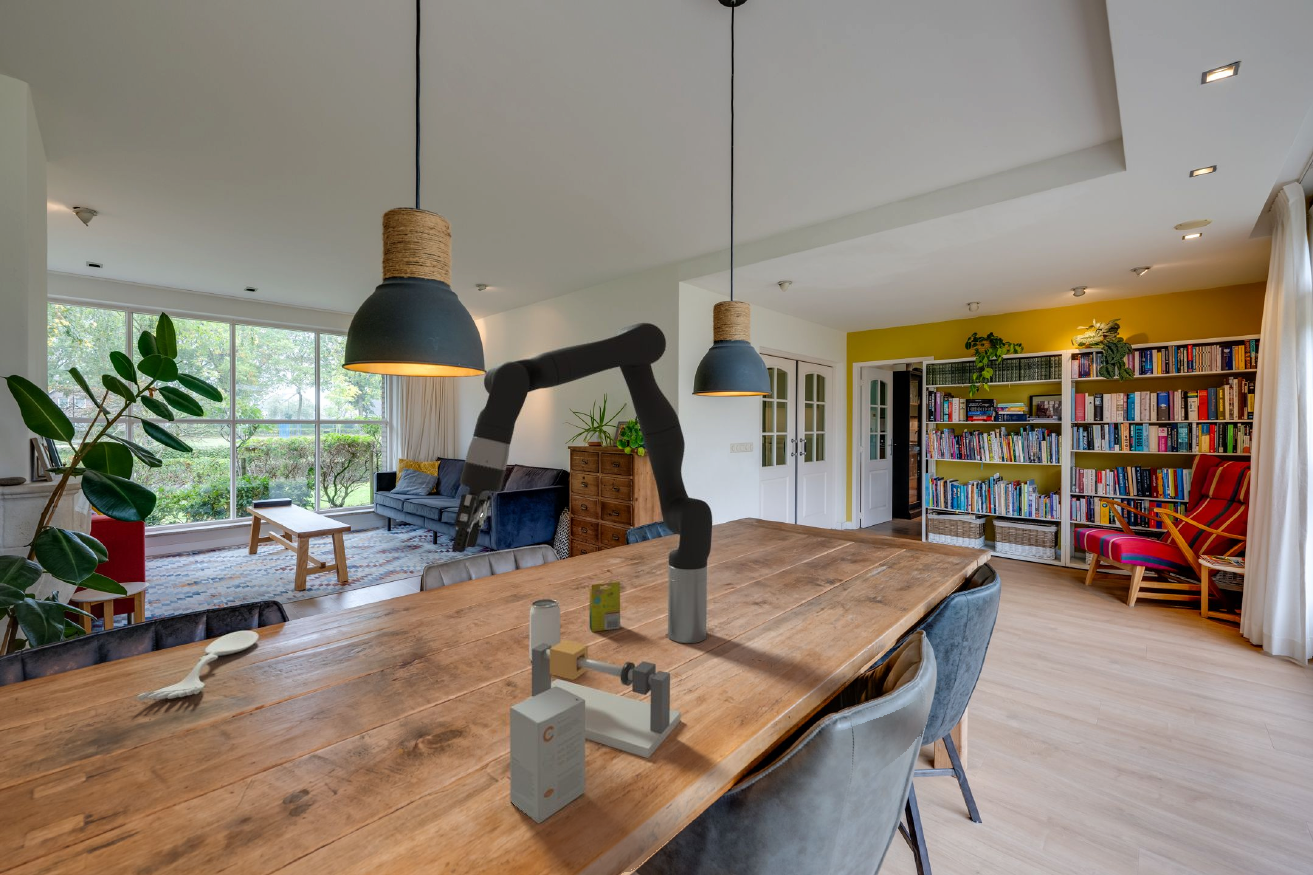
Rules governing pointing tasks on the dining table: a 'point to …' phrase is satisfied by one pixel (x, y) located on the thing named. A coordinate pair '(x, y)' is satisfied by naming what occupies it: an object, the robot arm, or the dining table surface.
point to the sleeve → (567, 659)
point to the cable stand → (617, 703)
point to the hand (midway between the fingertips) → (464, 548)
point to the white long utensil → (191, 682)
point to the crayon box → (605, 607)
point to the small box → (547, 752)
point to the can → (544, 623)
